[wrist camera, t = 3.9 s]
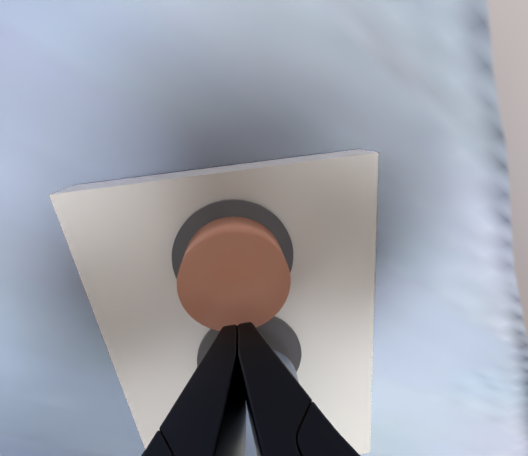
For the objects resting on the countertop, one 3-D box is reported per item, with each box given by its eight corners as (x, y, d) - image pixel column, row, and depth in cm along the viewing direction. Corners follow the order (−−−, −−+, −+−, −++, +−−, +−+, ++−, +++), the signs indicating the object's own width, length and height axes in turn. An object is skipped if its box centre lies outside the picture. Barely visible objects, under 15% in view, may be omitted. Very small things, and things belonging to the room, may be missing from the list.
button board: (357, 423, 22) (372, 457, 19) (168, 460, 21) (161, 500, 18) (359, 149, 15) (381, 152, 12) (73, 185, 14) (44, 196, 11)
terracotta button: (285, 296, 14) (294, 322, 12) (194, 310, 14) (189, 340, 12) (277, 209, 12) (285, 224, 11) (174, 223, 12) (164, 242, 10)
